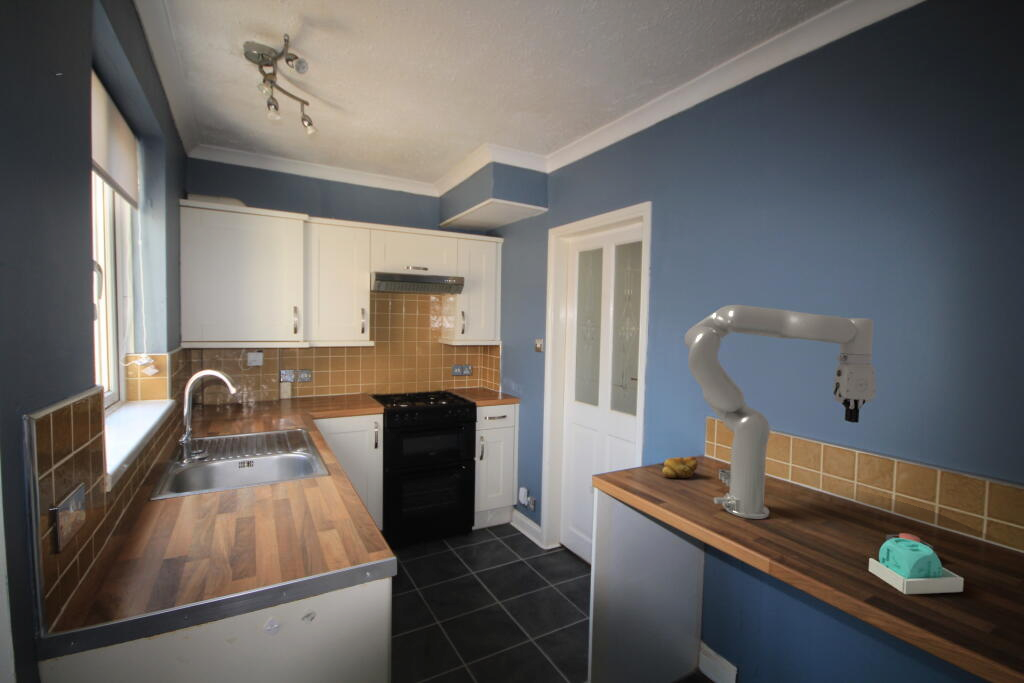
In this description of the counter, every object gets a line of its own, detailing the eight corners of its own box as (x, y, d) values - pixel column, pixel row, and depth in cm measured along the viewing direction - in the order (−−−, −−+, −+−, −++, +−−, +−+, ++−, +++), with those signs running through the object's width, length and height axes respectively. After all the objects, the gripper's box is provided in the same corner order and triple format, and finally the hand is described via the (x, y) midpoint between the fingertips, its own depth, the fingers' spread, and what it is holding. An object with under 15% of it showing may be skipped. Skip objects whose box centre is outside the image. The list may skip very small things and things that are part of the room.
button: (908, 554, 115) (909, 540, 115) (894, 546, 119) (895, 533, 119) (923, 554, 116) (924, 540, 115) (908, 546, 120) (909, 532, 119)
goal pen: (905, 594, 101) (906, 580, 101) (868, 570, 110) (869, 558, 110) (962, 591, 102) (963, 578, 102) (921, 568, 111) (922, 556, 111)
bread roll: (668, 481, 167) (669, 460, 167) (654, 472, 177) (655, 452, 176) (700, 479, 170) (701, 458, 170) (684, 470, 180) (685, 450, 179)
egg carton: (748, 489, 161) (749, 478, 161) (726, 488, 162) (726, 476, 162) (737, 478, 172) (738, 467, 172) (716, 477, 173) (717, 466, 173)
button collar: (908, 562, 114) (909, 547, 114) (885, 549, 120) (886, 534, 120) (932, 561, 115) (933, 546, 114) (908, 548, 121) (909, 534, 121)
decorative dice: (908, 590, 102) (911, 555, 102) (877, 570, 110) (879, 537, 110) (941, 589, 103) (944, 554, 102) (908, 569, 111) (910, 536, 110)
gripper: (841, 361, 132) (837, 424, 133) (889, 361, 134) (886, 424, 135) (821, 358, 140) (818, 418, 141) (867, 358, 141) (864, 418, 142)
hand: (851, 421), depth 138 cm, fingers closed
